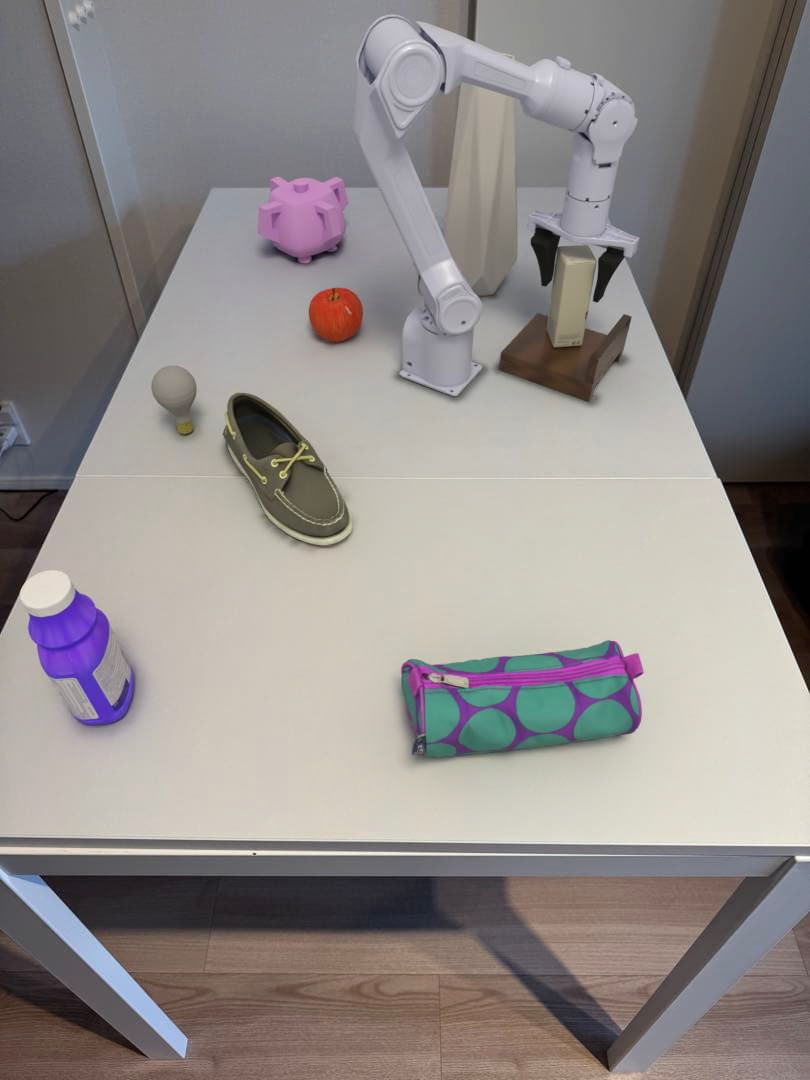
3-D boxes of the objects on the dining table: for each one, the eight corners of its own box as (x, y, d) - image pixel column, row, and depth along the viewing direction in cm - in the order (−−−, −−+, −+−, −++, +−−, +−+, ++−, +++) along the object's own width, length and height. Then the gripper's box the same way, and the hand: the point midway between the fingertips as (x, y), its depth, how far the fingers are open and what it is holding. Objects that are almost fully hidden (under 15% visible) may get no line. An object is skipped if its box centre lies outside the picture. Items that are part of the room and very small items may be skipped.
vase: (525, 278, 128) (553, 53, 103) (492, 311, 121) (513, 78, 97) (462, 259, 132) (473, 38, 107) (426, 289, 126) (430, 62, 101)
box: (582, 347, 109) (599, 262, 100) (552, 349, 109) (565, 264, 100) (573, 326, 113) (589, 243, 103) (544, 328, 113) (556, 244, 103)
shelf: (498, 370, 111) (503, 327, 106) (535, 329, 118) (540, 288, 112) (589, 402, 106) (598, 359, 101) (621, 358, 113) (631, 316, 107)
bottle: (85, 668, 78) (19, 557, 65) (141, 663, 78) (87, 553, 65) (70, 733, 73) (-4, 628, 60) (130, 728, 74) (70, 622, 61)
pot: (317, 214, 143) (311, 149, 134) (378, 248, 135) (376, 180, 126) (236, 247, 135) (224, 180, 126) (296, 285, 127) (288, 216, 118)
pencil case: (412, 779, 70) (412, 729, 63) (400, 694, 76) (399, 639, 69) (633, 752, 72) (658, 700, 64) (605, 671, 77) (625, 615, 70)
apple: (374, 337, 117) (372, 289, 111) (330, 356, 113) (325, 308, 107) (344, 314, 121) (341, 267, 115) (301, 332, 118) (295, 284, 112)
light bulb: (215, 425, 103) (200, 363, 96) (191, 450, 100) (173, 387, 92) (182, 414, 105) (164, 352, 97) (157, 438, 101) (137, 376, 94)
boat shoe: (366, 538, 90) (363, 493, 84) (290, 567, 87) (281, 523, 81) (288, 418, 104) (281, 373, 98) (220, 440, 101) (209, 395, 96)
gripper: (656, 193, 95) (632, 292, 105) (549, 167, 100) (536, 264, 111) (635, 216, 91) (613, 316, 101) (525, 187, 96) (514, 286, 107)
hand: (571, 290), depth 106 cm, fingers open, 7 cm apart
